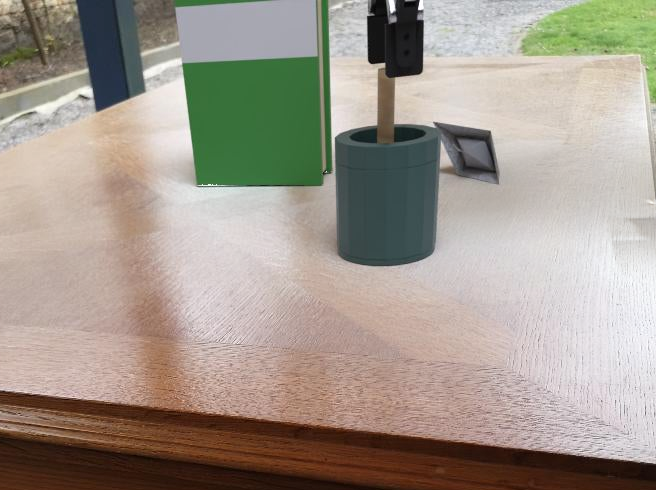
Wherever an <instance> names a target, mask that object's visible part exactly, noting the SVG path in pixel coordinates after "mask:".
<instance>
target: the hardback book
mask: <svg viewBox="0 0 656 490" xmlns="http://www.w3.org/2000/svg"><path fill="white" fill-rule="evenodd" d="M173 2H174V10H175V17H176V27H177V33H178V42H179V49H180V58H181V65H182V66H181V67H182V74H183V84H184V90H185V100H186V108H187V115H188V123H189V124H188V125H189V131H190V132H189V133H190V141H191V148H192V149H191V150H192V157H193V164H194V173H195V179H196V180H195V181H196V186H197V185H202V184H203V185H208V184H211V185H212V184H213V185H216V184H217V185H238V186H237V187H247V186H246V185H304V186H303V187H313V185H314V187H318V186H319V185H322V184H323V185H324V173H323V172H326V171H327V172H331V171H332V172H333V139H332V138H333V137H332V135H333V134H332V103H331V102H332V99H331V96H332V95H331V57H330V56H331V55H330V52H331V51H330V18H329V17H330V16H329V15H330V14H329V12H330V11H329V0H173ZM240 185H241V186H240ZM316 185H318V186H316ZM323 185H322V186H323ZM319 187H320V186H319Z"/></svg>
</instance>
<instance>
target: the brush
mask: <svg viewBox="0 0 656 490" xmlns="http://www.w3.org/2000/svg"><path fill="white" fill-rule="evenodd" d="M395 104H396V78H388V77H387V76H386V74H385V67H380V68H378V69H377V105H376V106H377V108H376V109H377V113H376V115H377V117H376V119H377V122H376V125H377V143H394V124H395V113H396V112H395V108H396V107H395V106H396V105H395Z"/></svg>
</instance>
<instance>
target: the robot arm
mask: <svg viewBox="0 0 656 490" xmlns="http://www.w3.org/2000/svg"><path fill="white" fill-rule="evenodd" d="M367 13H368V15H366V38H367V39H366V43H367V62H368V64H370V65H379V64H384V68H385V74H386V76H387V77H388V78H395V79H397V78H405V77H413V76H420V75H421V74H422V73H423V72H424V45H425V44H424V43H425V42H424V41H425V40H424V38H425V19H424V13H425V9H424V0H367Z"/></svg>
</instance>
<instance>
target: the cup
mask: <svg viewBox="0 0 656 490" xmlns="http://www.w3.org/2000/svg"><path fill="white" fill-rule="evenodd" d="M441 148H442V141H441V132H440V131H439V130H438V129H437V128H435V126H428V125H425V124H414V123H413V124H412V123H394V143H377V124H375V125H367V126H361V127H356V128H351V129H349V130H345V131H341V132H339V133H338V134H337V135H336V136H335V137H334V166H335V167H334V171H335V173H334V174H335V175H334V176H335V211H336V212H335V213H336V215H335V216H336V218H335V219H336V245H337V254H338V256H339V257H341V258H342V259H344V260H346V261H348V262H351V263H353V264H359V265H364V266H380V267H381V266H399V265H405V264H410V263H415V262H417V261H420V260H424V259H425V258H427V257H429V256H431V255H432V254H433V253H434V251H435V249H436V243H437V229H438V228H437V227H438V207H439V187H440V171H441V170H440V169H441V150H442V149H441Z"/></svg>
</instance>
